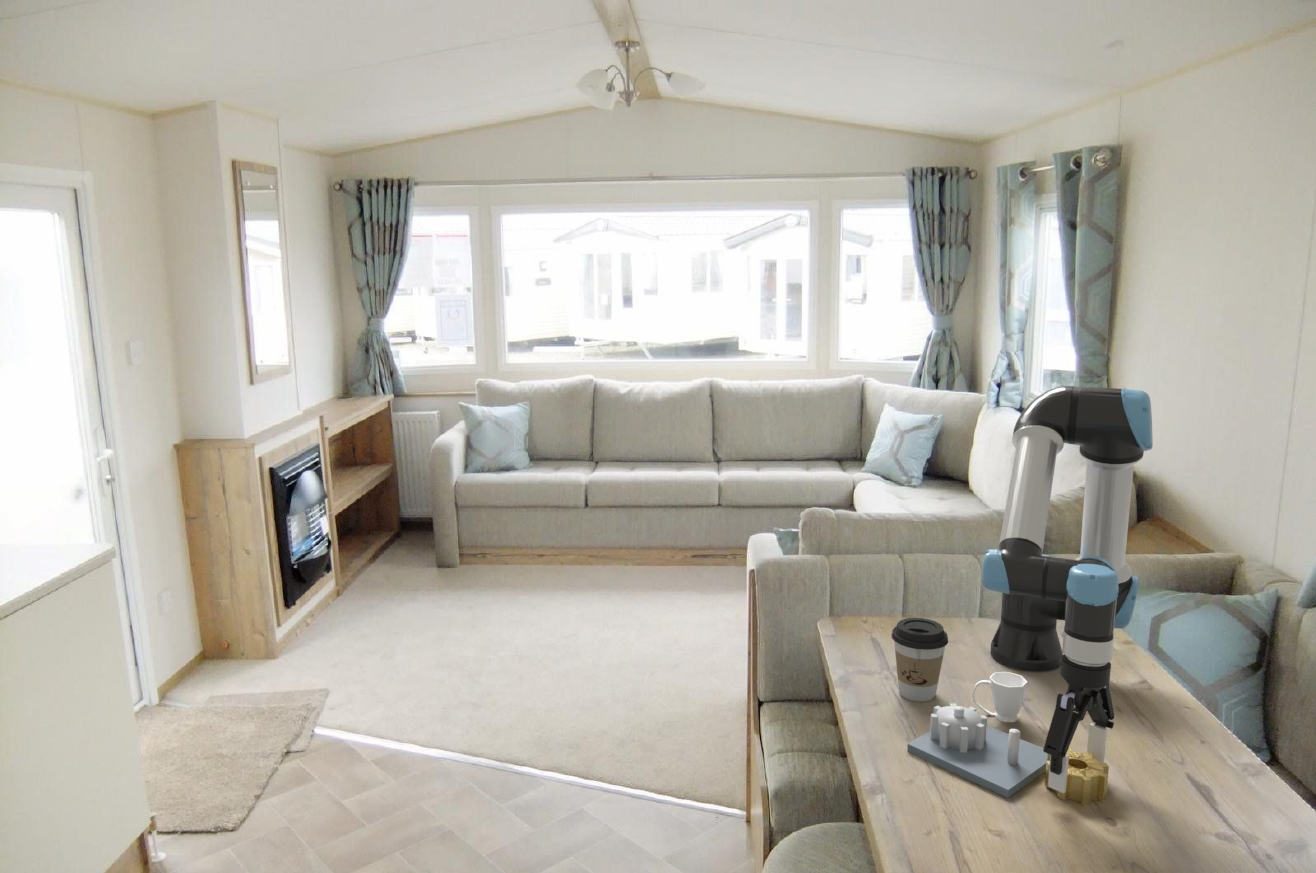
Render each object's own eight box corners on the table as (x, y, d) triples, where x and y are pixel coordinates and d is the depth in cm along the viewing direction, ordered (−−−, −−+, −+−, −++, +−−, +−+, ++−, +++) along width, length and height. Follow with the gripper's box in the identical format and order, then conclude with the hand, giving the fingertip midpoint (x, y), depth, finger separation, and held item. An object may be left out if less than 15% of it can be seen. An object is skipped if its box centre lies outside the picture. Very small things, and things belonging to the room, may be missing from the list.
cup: (1026, 728, 180) (1028, 689, 178) (971, 720, 183) (973, 682, 181) (1024, 711, 187) (1026, 673, 185) (971, 704, 190) (973, 667, 188)
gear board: (958, 720, 183) (960, 685, 182) (1057, 761, 168) (1060, 723, 167) (907, 750, 172) (908, 713, 171) (1007, 797, 157) (1010, 757, 156)
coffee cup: (885, 701, 191) (887, 632, 188) (893, 677, 202) (895, 612, 199) (942, 710, 187) (946, 640, 184) (948, 686, 197) (951, 619, 194)
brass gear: (1061, 765, 167) (1063, 742, 166) (1117, 788, 159) (1120, 765, 159) (1033, 786, 161) (1035, 762, 160) (1090, 811, 153) (1092, 786, 152)
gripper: (1098, 631, 166) (1089, 741, 170) (1026, 671, 150) (1018, 791, 154) (1142, 644, 160) (1131, 758, 164) (1072, 687, 145) (1062, 811, 149)
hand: (1076, 774), depth 159 cm, fingers open, 13 cm apart
